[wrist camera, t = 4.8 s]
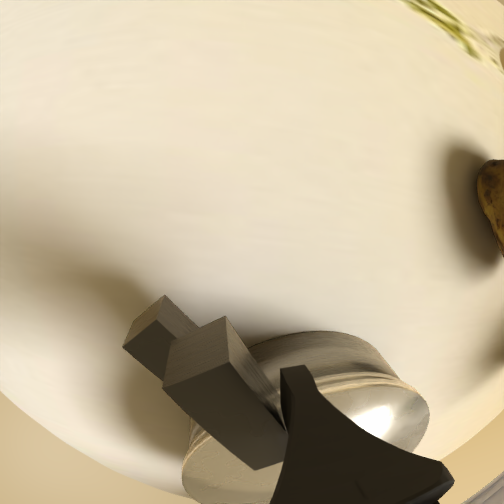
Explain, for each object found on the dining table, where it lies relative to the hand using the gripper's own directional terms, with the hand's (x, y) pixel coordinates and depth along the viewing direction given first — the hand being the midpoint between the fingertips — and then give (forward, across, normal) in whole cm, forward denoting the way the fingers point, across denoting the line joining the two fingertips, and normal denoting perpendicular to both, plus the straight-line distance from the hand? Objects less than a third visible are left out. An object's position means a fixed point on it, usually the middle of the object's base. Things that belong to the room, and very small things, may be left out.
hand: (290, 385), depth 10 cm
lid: (+1, -1, +8) cm, 8 cm away
